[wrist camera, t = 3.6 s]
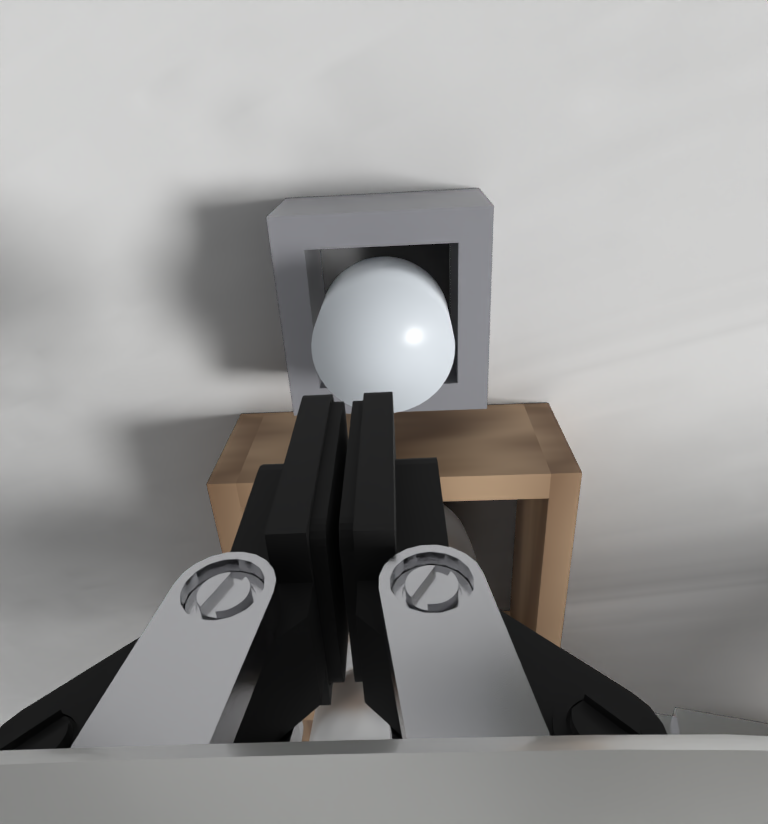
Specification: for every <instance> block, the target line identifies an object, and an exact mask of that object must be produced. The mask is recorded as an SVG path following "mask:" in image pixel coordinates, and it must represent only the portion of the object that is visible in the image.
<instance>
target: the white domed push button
mask: <svg viewBox="0 0 768 824" xmlns="http://www.w3.org/2000/svg"><path fill="white" fill-rule="evenodd" d="M311 349H312V357H313V362H314V365H315V368H316V371H317V373H318V375H319V377H320V379H321V380H322V382H323V383H324V385H325V386H326V387H327V388H328V389H329V391H330V392H331V393H333V394H334V395H335V396H336V397H337V398H338V399H340V400H341V401H344V403H346V404H348V405H350V406H352V402H353V401H362V400H363V395H364V393H372V392H393V408H394V413H396V412H401V411H405V410H408V409H411V408H413V407H416V406H418V405H420V404H421V403H423V402H425V401H426V400H428V399H429V398H430V397H431V396H433V395H434V394H435V393H436V392H437V391H438V390H439V389H440V387H441V386H442V385H443V383H444V382H445V381H446V379H447V377H448V375H449V373H450V370H451V368H452V365H453V360H454V355H455V339H454V334H453V329H452V325H451V320H450V316H449V311H448V307H447V303H446V299H445V297H444V294H443V292H442V290H441V288H440V286H439V285H438V284H437V282H436V281H435V279H434V278H433V277H432V276H431V275H430V274H429V273H428V272H426V271H425V270H424V269H423V268H421V267H419V266H418V265H416V264H414V263H412V262H410V261H407V260H404V259H401V258H396V257H383V256H381V257H373V258H369V259H365V260H362V261H359V262H357V263H355V264H353V265H351V266H350V267H348V268H347V269H345V270H344V271H343V272H342V273H341V274H340V275H339V276H338V277H337V278H336V279H335V280H334V281H333V283H332V284H331V286H330V287H329V289H328V291H327V293H326V296H325V298H324V301H323V304H322V307H321V309H320V312H319V315H318V318H317V321H316V323H315V326H314V330H313V334H312V342H311Z"/></svg>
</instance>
